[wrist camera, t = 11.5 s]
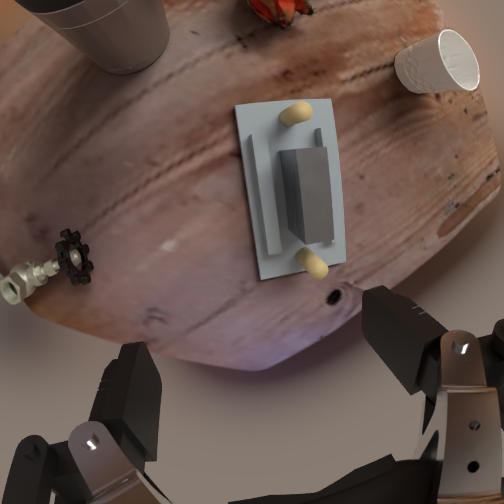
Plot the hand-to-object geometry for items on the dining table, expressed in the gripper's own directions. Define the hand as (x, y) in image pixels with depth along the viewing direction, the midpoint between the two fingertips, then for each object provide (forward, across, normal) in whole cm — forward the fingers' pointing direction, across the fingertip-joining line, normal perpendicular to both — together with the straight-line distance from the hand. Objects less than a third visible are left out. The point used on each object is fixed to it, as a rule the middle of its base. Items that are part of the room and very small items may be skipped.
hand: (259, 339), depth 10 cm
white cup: (+24, -29, -15) cm, 41 cm away
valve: (+24, +22, +1) cm, 33 cm away
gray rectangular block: (+23, -9, -1) cm, 24 cm away
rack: (+24, -9, -1) cm, 25 cm away
